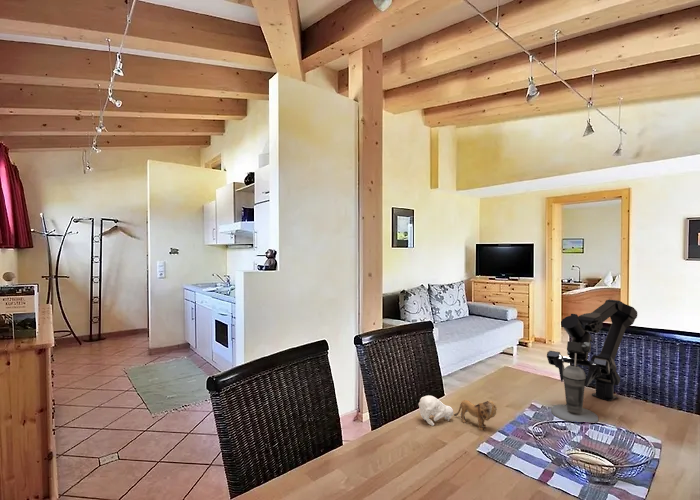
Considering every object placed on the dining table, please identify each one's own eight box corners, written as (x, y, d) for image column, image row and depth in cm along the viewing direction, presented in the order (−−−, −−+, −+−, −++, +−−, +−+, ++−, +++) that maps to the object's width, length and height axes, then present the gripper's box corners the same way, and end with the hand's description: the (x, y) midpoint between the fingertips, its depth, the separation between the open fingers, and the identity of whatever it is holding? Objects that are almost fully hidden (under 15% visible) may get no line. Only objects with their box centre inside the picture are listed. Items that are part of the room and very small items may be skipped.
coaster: (566, 404, 141) (566, 401, 141) (606, 418, 128) (606, 416, 128) (542, 411, 134) (542, 409, 134) (583, 428, 122) (583, 425, 122)
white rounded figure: (417, 392, 127) (448, 392, 131) (415, 418, 127) (446, 417, 131) (426, 400, 121) (459, 399, 125) (424, 426, 121) (456, 425, 125)
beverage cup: (580, 406, 135) (579, 349, 135) (591, 415, 127) (590, 355, 127) (558, 405, 135) (558, 349, 135) (568, 414, 128) (568, 355, 128)
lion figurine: (499, 428, 121) (499, 400, 121) (492, 434, 117) (492, 405, 117) (457, 414, 131) (457, 388, 131) (449, 419, 127) (449, 392, 127)
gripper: (548, 328, 140) (539, 365, 132) (608, 336, 128) (603, 377, 120) (553, 345, 146) (545, 381, 138) (611, 354, 134) (607, 395, 126)
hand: (573, 383), depth 130 cm, fingers closed on beverage cup, 7 cm apart
